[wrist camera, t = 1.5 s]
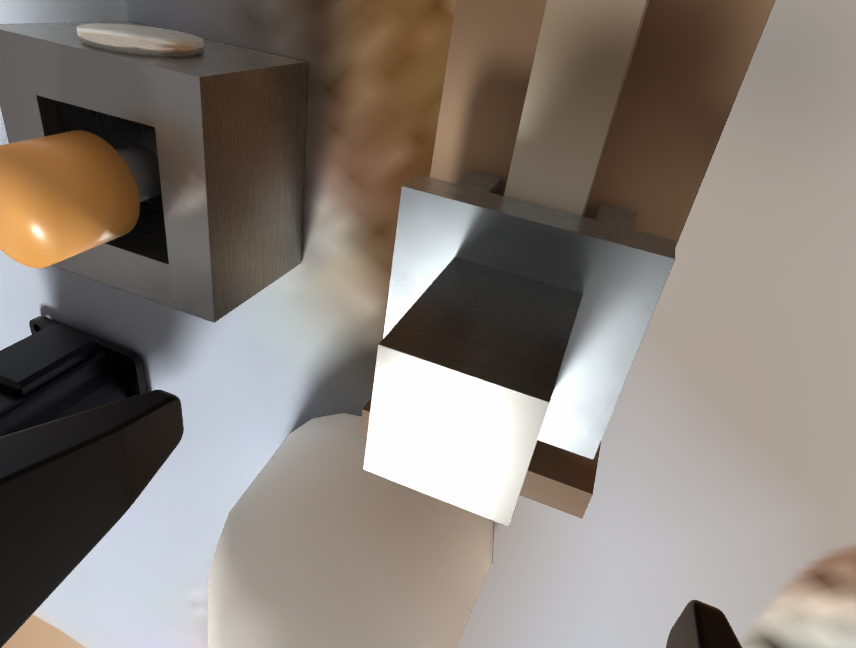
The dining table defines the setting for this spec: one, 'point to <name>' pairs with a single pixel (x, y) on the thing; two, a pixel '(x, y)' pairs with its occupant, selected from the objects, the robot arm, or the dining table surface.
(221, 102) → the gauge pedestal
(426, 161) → the dining table surface
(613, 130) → the rail
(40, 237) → the button
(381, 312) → the dining table surface
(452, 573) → the teardrop
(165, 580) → the dining table surface
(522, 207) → the carriage
